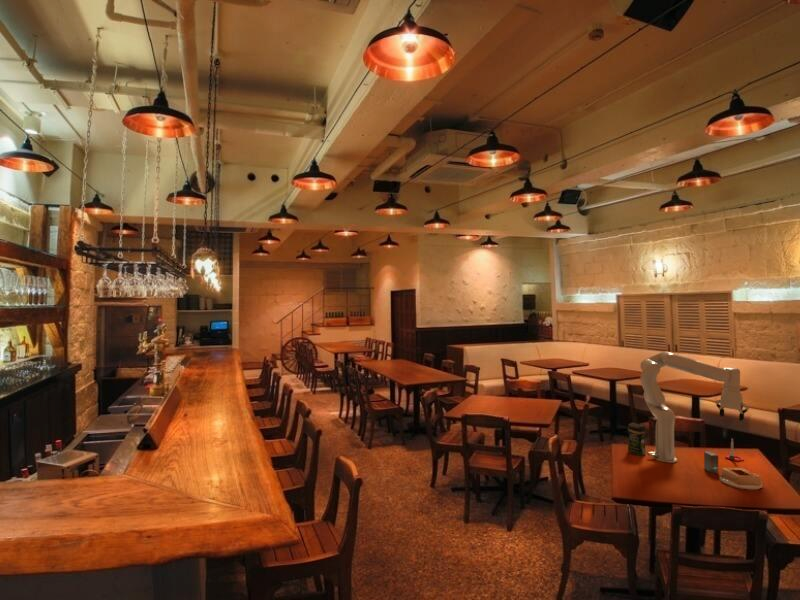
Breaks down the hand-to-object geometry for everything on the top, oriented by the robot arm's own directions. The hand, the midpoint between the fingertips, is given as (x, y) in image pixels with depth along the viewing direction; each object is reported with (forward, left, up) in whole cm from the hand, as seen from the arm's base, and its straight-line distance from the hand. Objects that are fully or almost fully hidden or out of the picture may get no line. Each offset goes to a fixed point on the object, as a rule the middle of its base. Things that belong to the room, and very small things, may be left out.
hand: (731, 418), depth 265 cm
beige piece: (-14, -28, -27) cm, 41 cm away
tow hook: (+7, +8, -27) cm, 29 cm away
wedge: (-19, -12, -27) cm, 35 cm away
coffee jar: (-47, +16, -27) cm, 56 cm away
